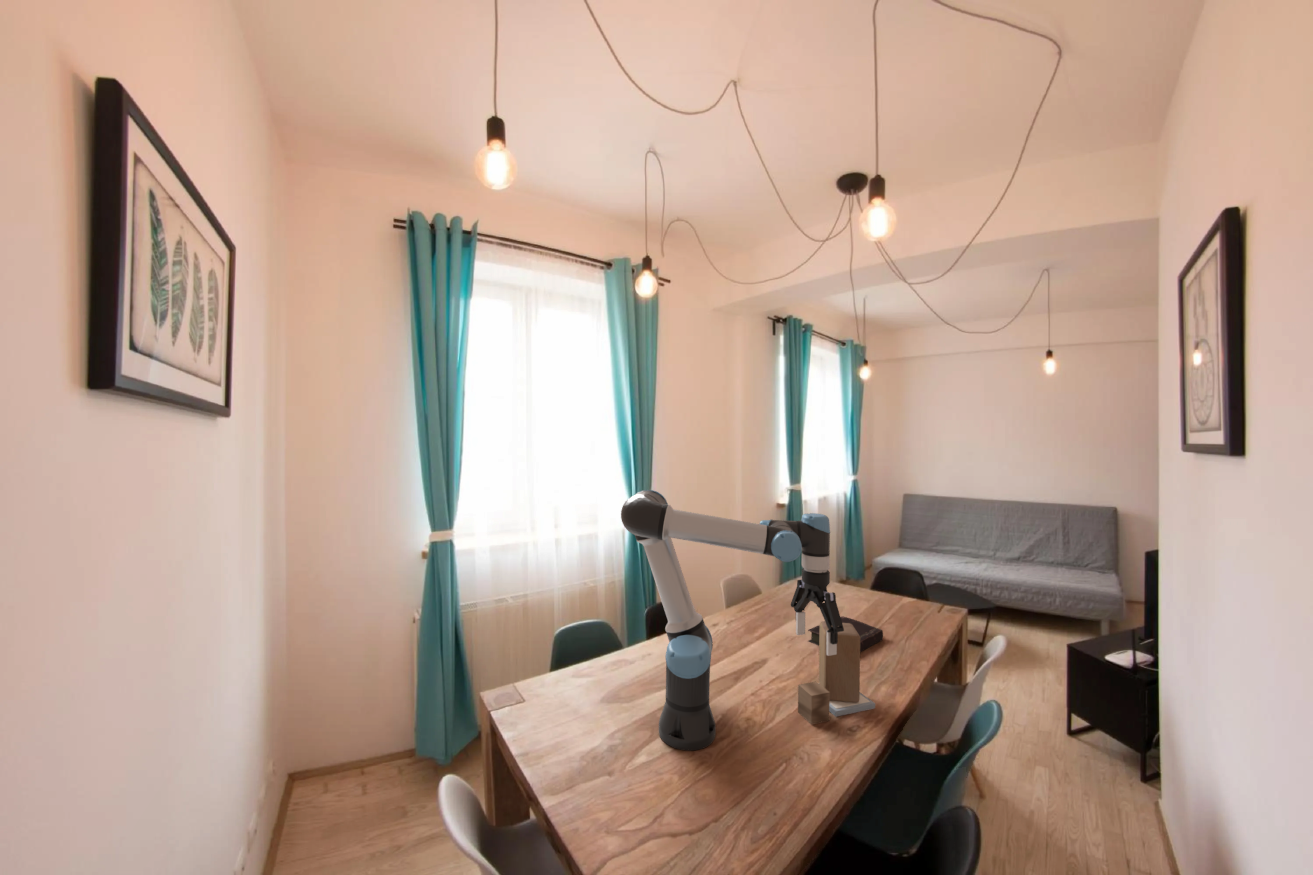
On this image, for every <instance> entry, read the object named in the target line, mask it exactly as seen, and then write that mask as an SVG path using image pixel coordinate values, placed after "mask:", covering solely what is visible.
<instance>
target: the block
mask: <svg viewBox="0 0 1313 875" xmlns="http://www.w3.org/2000/svg"><path fill="white" fill-rule="evenodd" d="M842 624H843V628H844V631H842V632H838V643H837V654H836V655H831V656H828V655H826V632H827V630H829V629H828V627H827V624H826V622H825V620H824V621H823V620H822V621H820V622H819V625H820V629H819V646H818V647H819V648H818V652H819V653H818V684H820V685H821V686H822V687H824V688H825V689H826V690H827V691H829V692H830V700H834V701H844V702H854V703H857V702H859V696H860V693H861V691H860V689H861V688H860V684H861V683H860V682H861V652H860V636H859V634H858V633H857V631H856V629H855V628H854V626H853V625H852V624H850V623H842ZM838 627H839V626H838Z"/></svg>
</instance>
